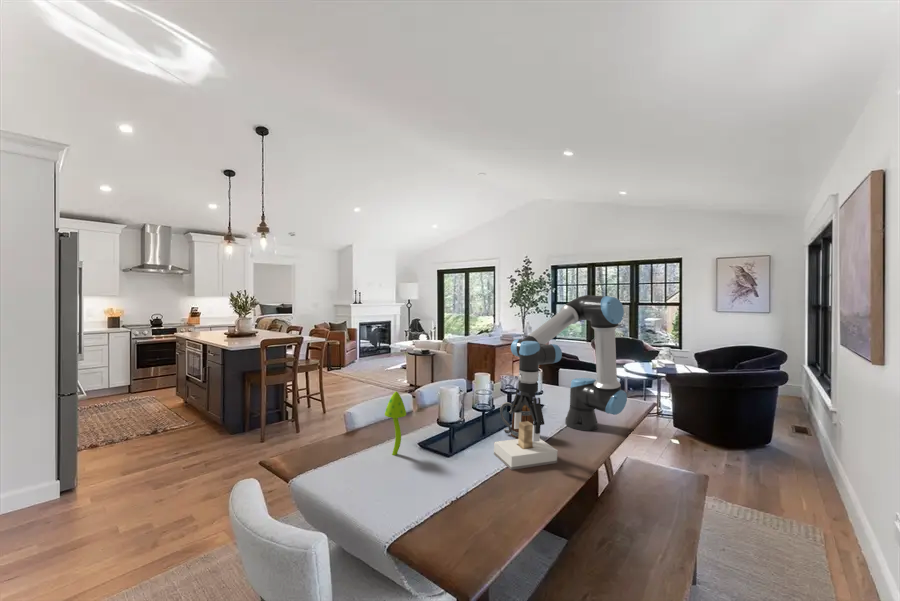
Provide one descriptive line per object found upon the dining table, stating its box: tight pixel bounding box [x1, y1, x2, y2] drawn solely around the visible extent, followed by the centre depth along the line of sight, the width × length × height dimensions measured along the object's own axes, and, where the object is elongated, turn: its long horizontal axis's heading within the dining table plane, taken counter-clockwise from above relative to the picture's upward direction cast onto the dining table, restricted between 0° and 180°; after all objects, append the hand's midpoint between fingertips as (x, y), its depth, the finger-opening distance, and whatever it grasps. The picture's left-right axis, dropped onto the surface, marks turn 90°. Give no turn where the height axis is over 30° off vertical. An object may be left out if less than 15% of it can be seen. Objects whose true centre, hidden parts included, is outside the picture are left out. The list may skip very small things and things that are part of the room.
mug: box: [499, 401, 534, 439], centre depth 183 cm, size 16×11×15 cm
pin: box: [518, 421, 533, 449], centre depth 159 cm, size 4×4×13 cm
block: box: [493, 438, 558, 471], centre depth 160 cm, size 20×14×5 cm
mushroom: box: [384, 391, 407, 456], centre depth 159 cm, size 8×8×25 cm
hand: (526, 434), depth 159 cm, fingers open, 13 cm apart
